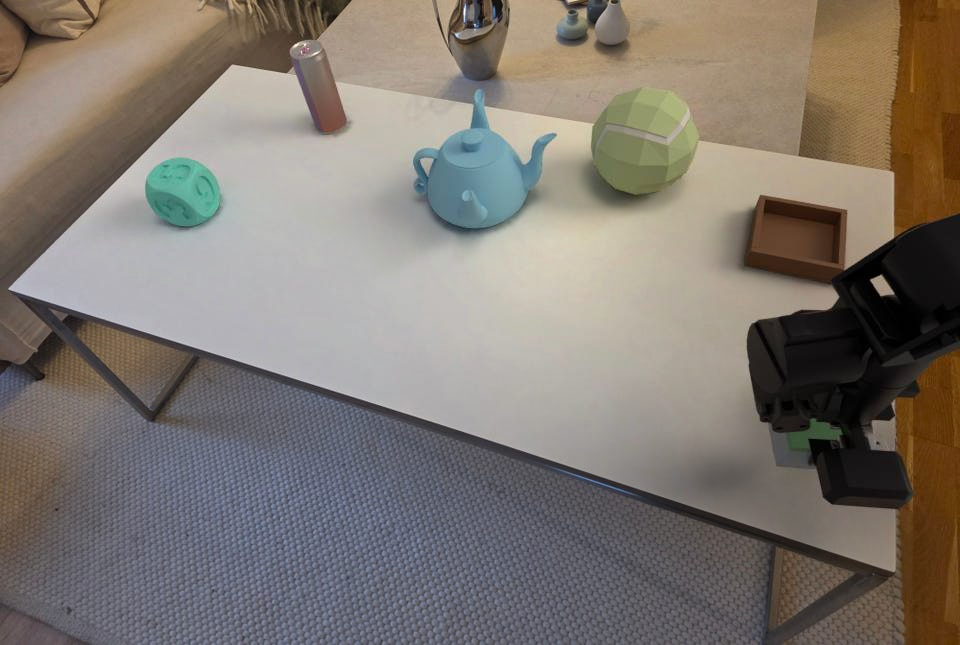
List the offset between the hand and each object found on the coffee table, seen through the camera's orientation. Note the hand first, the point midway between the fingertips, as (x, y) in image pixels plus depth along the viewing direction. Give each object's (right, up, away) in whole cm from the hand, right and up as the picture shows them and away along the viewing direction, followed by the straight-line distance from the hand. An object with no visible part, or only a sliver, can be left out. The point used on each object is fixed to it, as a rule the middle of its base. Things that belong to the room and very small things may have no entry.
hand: (807, 439), depth 60 cm
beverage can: (-61, +49, +50) cm, 93 cm away
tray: (+11, +23, +24) cm, 35 cm away
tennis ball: (-8, +35, +35) cm, 50 cm away
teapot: (-32, +31, +35) cm, 57 cm away
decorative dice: (-81, +31, +40) cm, 96 cm away
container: (0, -1, +1) cm, 2 cm away
